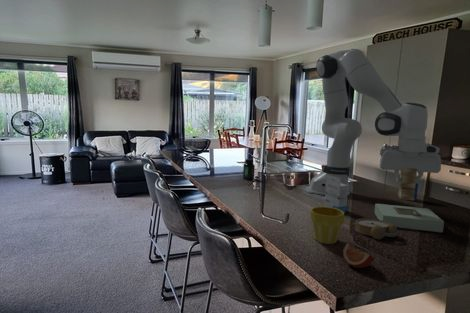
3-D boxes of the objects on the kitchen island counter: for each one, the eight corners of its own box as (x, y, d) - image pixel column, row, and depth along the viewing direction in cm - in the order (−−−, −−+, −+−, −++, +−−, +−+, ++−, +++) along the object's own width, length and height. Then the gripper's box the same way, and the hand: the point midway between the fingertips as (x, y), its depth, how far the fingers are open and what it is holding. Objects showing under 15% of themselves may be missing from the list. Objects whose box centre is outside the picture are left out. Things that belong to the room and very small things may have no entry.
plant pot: (304, 233, 105) (306, 205, 104) (334, 233, 106) (336, 206, 105) (315, 246, 95) (317, 216, 94) (347, 246, 96) (350, 216, 94)
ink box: (346, 212, 130) (349, 178, 128) (338, 213, 128) (340, 178, 126) (332, 206, 138) (335, 174, 136) (323, 207, 136) (326, 174, 133)
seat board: (382, 225, 116) (383, 214, 115) (374, 212, 131) (375, 202, 130) (442, 232, 111) (444, 220, 110) (427, 218, 126) (428, 208, 125)
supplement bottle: (246, 180, 185) (247, 160, 183) (241, 178, 191) (241, 158, 189) (256, 179, 188) (257, 160, 187) (250, 177, 194) (251, 158, 193)
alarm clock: (372, 217, 116) (406, 224, 102) (372, 230, 116) (407, 239, 102) (347, 220, 112) (380, 227, 98) (348, 233, 112) (381, 243, 98)
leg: (400, 199, 118) (403, 168, 116) (397, 196, 122) (400, 166, 120) (414, 200, 116) (417, 168, 114) (410, 197, 121) (414, 166, 119)
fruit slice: (337, 260, 87) (338, 243, 86) (355, 256, 89) (357, 240, 89) (358, 275, 79) (360, 256, 78) (378, 271, 82) (380, 253, 81)
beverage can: (418, 201, 151) (421, 177, 149) (404, 200, 152) (406, 176, 150) (413, 198, 157) (416, 174, 155) (399, 197, 158) (402, 174, 157)
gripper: (382, 145, 116) (378, 182, 118) (444, 148, 110) (440, 186, 112) (379, 144, 122) (376, 178, 124) (438, 147, 116) (434, 183, 118)
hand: (407, 182), depth 118 cm, fingers closed on leg, 4 cm apart
